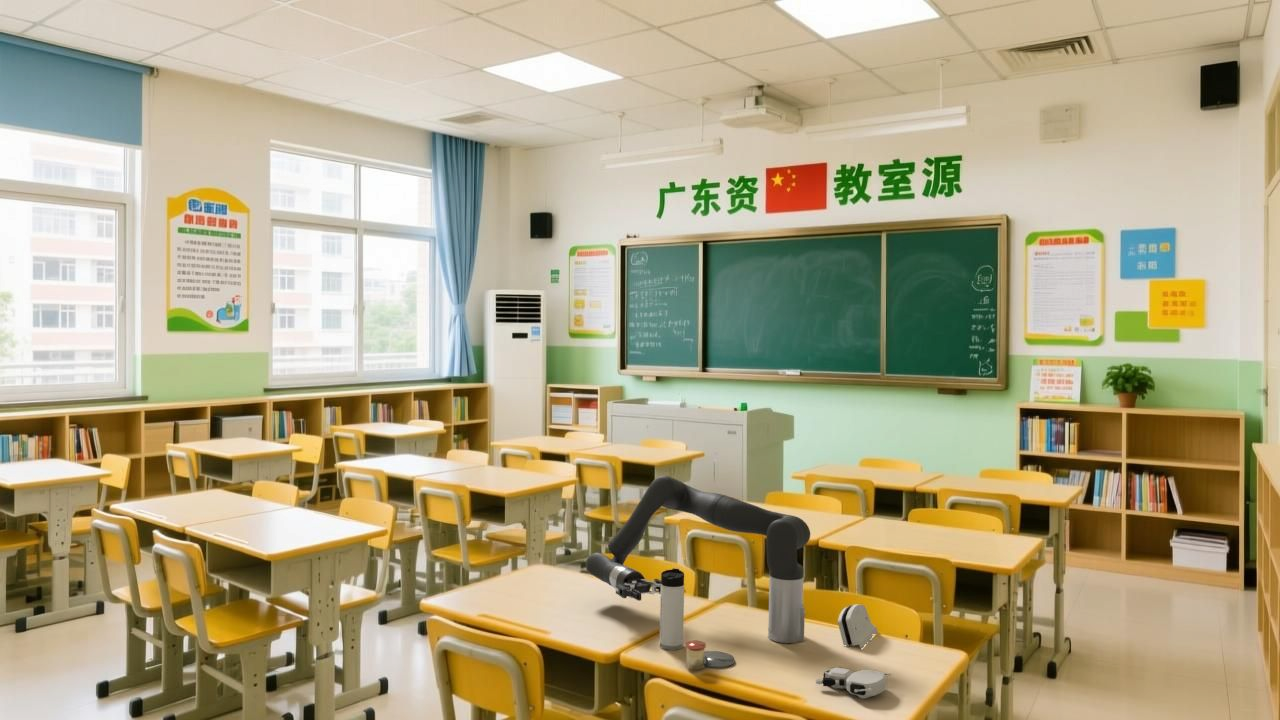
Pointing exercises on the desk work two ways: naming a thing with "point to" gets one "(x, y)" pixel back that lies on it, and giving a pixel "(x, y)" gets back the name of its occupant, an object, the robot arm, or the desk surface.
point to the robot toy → (855, 681)
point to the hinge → (856, 625)
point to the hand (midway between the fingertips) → (653, 595)
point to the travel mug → (672, 609)
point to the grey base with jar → (706, 656)
